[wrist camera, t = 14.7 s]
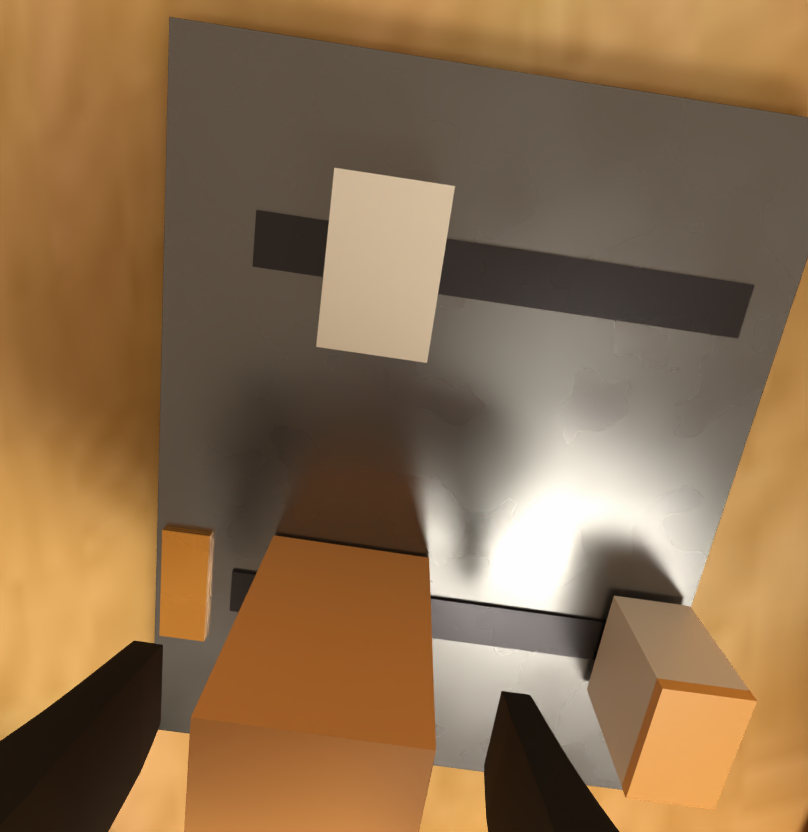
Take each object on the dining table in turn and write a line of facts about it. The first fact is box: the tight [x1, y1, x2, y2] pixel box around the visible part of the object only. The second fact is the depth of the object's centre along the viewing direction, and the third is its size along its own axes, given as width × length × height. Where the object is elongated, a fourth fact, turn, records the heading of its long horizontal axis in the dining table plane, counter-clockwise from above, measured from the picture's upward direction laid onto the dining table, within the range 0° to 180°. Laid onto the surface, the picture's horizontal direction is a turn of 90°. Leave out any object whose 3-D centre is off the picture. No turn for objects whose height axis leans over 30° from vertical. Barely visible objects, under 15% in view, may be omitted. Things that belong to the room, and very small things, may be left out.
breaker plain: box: [316, 168, 455, 363], centre depth 12 cm, size 2×3×3 cm, turn 172°
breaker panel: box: [155, 17, 808, 790], centre depth 16 cm, size 14×18×2 cm
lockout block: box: [184, 535, 436, 832], centre depth 13 cm, size 4×4×6 cm
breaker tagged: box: [587, 596, 757, 810], centre depth 15 cm, size 2×3×3 cm, turn 172°
